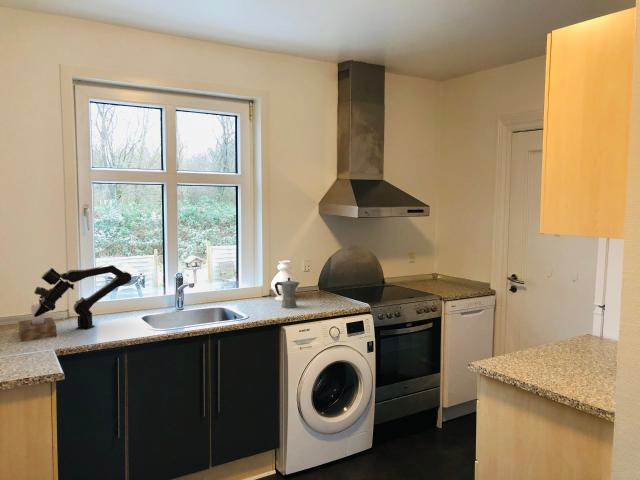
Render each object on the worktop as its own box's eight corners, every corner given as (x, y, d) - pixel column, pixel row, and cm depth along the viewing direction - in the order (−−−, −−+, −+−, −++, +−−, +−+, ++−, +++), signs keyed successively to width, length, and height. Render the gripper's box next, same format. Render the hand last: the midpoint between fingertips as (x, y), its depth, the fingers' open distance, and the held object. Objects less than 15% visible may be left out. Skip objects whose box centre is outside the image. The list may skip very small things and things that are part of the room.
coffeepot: (298, 304, 312) (298, 276, 311) (301, 307, 303) (300, 278, 301) (273, 305, 309) (273, 277, 307) (275, 309, 300) (275, 279, 298)
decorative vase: (274, 295, 340) (273, 259, 338) (300, 296, 339) (299, 259, 336) (268, 301, 323) (268, 262, 321) (296, 301, 321) (295, 263, 319)
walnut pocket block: (52, 327, 260) (52, 317, 259) (56, 336, 243) (56, 325, 243) (18, 331, 252) (18, 321, 251) (20, 341, 235) (20, 330, 235)
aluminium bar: (43, 323, 251) (42, 303, 250) (44, 325, 247) (43, 305, 246) (32, 324, 248) (30, 305, 247) (32, 327, 244) (31, 306, 243)
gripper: (43, 278, 255) (19, 302, 250) (46, 283, 240) (21, 309, 235) (61, 291, 260) (38, 315, 255) (65, 297, 245) (41, 323, 240)
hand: (34, 315), depth 246 cm, fingers closed on aluminium bar, 5 cm apart
